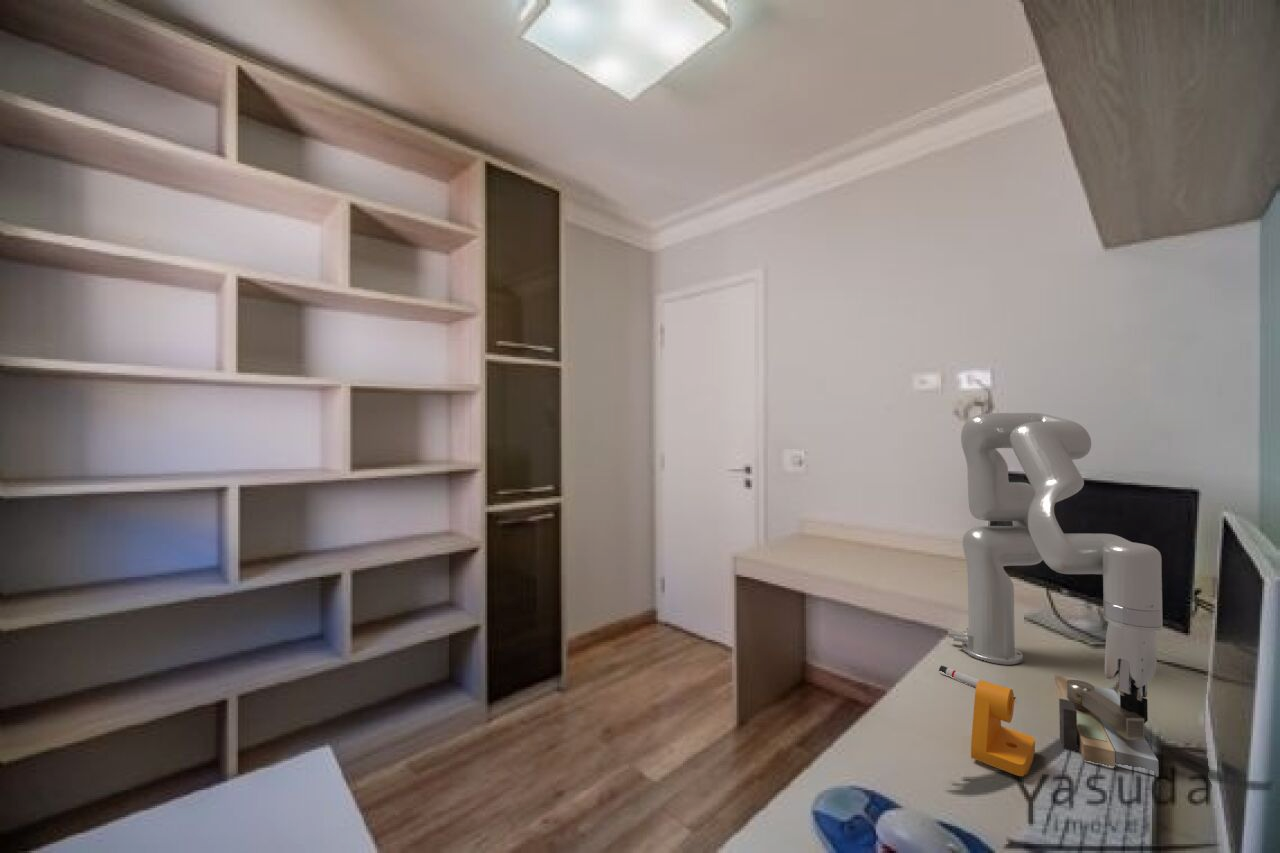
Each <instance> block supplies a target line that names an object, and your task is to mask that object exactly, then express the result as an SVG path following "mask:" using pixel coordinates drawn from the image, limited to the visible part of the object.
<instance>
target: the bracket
mask: <svg viewBox="0 0 1280 853" xmlns="http://www.w3.org/2000/svg"><path fill="white" fill-rule="evenodd" d="M1014 697H1015V694H1014V689H1012V688H1009V687H1006V686H1005V687H1004V686H1002V685H1000V684H999V685H998V684H995V683H992V682H988V681H984V680H982V679H979V681H978V683H977V686H976V688H975V691H974V705H973V714H972V729H971V741H970V758H971V759H973V760H976V761H979V762H982V763H984V764H987V765H989V766H992V767H994V768H997V769H999V770H1002V771H1004V772H1007V773H1010V774H1013V775H1015V776H1018V777H1024V776H1027V775H1028V773H1029V771H1030V768H1031V765H1032V764H1033V761H1034V754H1035V752H1036V739H1035V737H1033V736H1032V735H1029V734H1026V733H1023V732H1020V731H1018V730H1014V729H1011V728H1010V727H1009V728H1008V727H1005V726H1003V725H1002V721H1003V722H1004V723H1008V724H1010V723H1011V722H1012V720H1013V716H1014V708H1015V707H1014V706H1015V700H1014Z"/></svg>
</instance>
